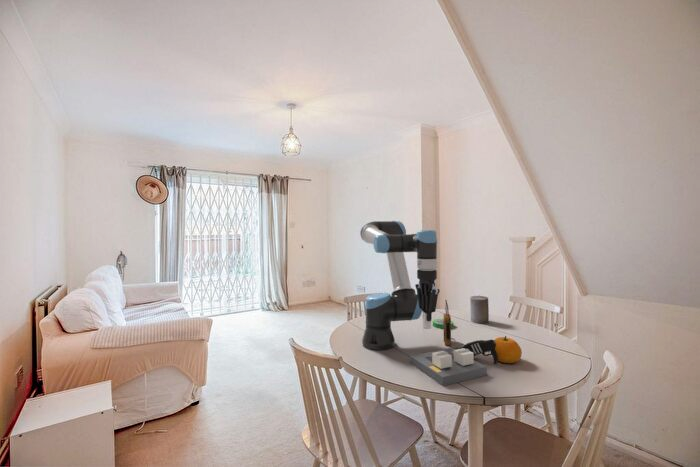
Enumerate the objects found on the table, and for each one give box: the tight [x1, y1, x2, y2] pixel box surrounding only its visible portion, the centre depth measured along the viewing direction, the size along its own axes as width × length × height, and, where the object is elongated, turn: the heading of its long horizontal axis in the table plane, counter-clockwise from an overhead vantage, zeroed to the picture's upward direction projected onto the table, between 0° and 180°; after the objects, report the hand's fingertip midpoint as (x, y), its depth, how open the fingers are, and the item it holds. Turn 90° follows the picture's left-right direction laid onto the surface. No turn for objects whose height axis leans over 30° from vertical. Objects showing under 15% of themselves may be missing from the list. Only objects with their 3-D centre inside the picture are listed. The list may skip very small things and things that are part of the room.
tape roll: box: [432, 318, 455, 330], centre depth 177 cm, size 11×11×3 cm
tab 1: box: [432, 351, 452, 369], centre depth 119 cm, size 5×5×4 cm
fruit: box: [491, 335, 523, 364], centre depth 131 cm, size 12×12×10 cm
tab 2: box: [453, 347, 475, 366], centre depth 121 cm, size 5×5×4 cm
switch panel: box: [409, 347, 488, 387], centre depth 123 cm, size 20×20×3 cm
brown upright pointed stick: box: [442, 299, 466, 350], centre depth 150 cm, size 15×10×20 cm
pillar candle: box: [469, 295, 490, 325], centre depth 184 cm, size 10×10×15 cm
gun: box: [461, 339, 499, 365], centre depth 131 cm, size 3×16×10 cm, turn 51°
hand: (427, 328), depth 127 cm, fingers closed
